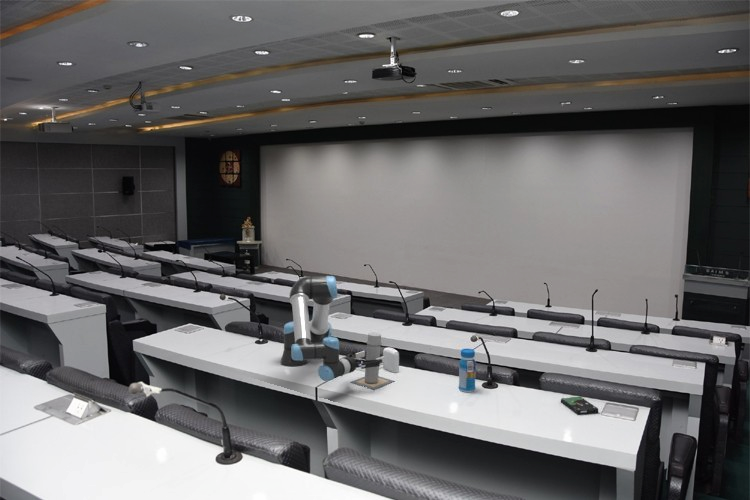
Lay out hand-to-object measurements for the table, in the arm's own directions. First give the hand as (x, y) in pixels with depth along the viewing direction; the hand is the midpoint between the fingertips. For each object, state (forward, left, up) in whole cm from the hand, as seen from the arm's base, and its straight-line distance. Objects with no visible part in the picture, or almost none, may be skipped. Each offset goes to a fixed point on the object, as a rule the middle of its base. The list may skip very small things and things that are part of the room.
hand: (374, 356), depth 281 cm
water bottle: (-1, -1, -13) cm, 13 cm away
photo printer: (-5, +20, -14) cm, 25 cm away
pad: (0, -1, -14) cm, 14 cm away
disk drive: (+92, +36, -14) cm, 100 cm away
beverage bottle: (+42, +22, -14) cm, 49 cm away
